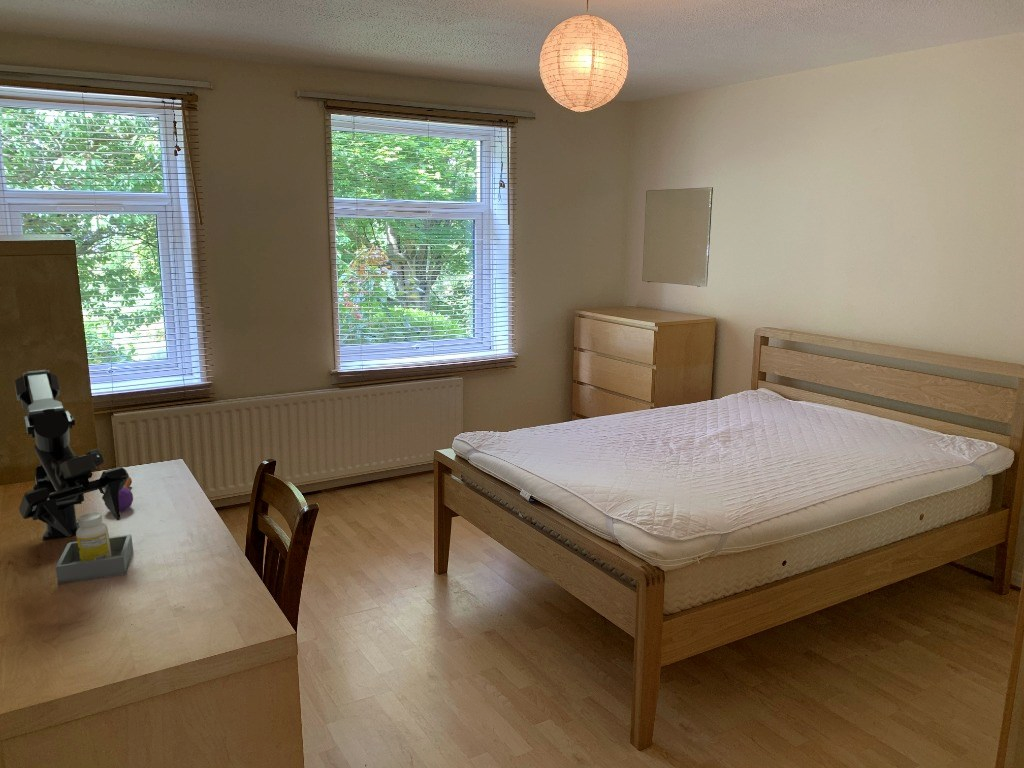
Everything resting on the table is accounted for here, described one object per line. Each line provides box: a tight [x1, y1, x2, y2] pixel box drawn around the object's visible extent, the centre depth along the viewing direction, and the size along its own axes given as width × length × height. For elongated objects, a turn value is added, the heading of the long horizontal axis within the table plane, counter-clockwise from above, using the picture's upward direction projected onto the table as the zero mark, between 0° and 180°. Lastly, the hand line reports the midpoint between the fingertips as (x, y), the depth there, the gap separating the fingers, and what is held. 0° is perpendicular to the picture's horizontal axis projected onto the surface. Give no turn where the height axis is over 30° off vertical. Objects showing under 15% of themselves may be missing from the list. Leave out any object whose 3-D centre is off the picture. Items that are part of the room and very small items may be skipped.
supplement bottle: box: [75, 512, 112, 562], centre depth 147 cm, size 5×5×10 cm
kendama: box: [104, 476, 134, 513], centre depth 183 cm, size 6×6×20 cm
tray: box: [55, 533, 134, 585], centre depth 148 cm, size 11×11×4 cm
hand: (95, 527), depth 145 cm, fingers open, 9 cm apart
